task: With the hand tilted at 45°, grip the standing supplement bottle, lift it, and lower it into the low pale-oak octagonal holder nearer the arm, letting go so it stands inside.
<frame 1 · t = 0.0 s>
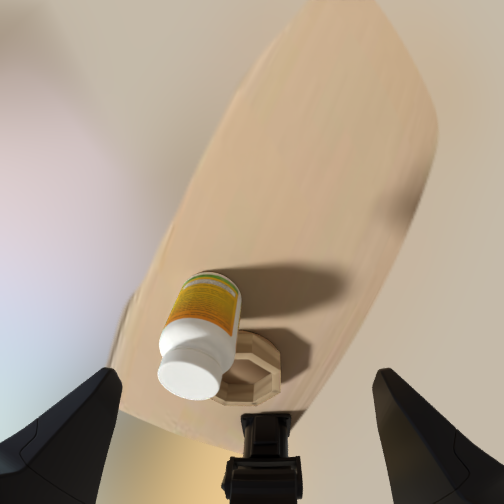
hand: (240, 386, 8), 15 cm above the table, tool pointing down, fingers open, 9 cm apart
can holder: (238, 360, 28), on the table
supplement bottle: (211, 295, 25), on the table
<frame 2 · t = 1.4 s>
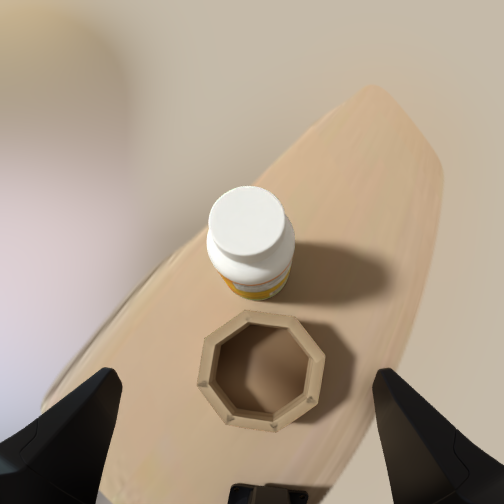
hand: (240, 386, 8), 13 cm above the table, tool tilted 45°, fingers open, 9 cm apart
can holder: (262, 369, 21), on the table
supplement bottle: (256, 270, 24), on the table
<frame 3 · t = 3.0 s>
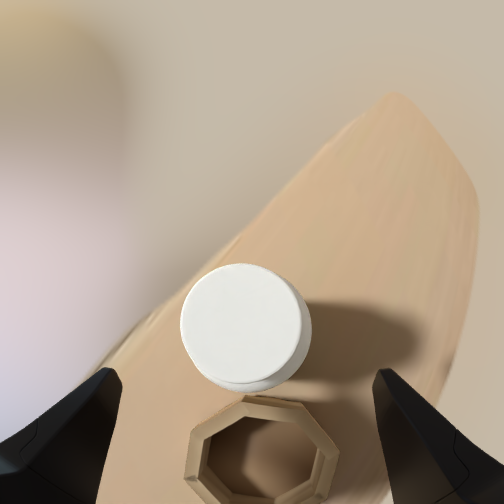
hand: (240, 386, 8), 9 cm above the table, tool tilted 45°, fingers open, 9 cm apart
can holder: (262, 454, 15), on the table
supplement bottle: (256, 337, 18), on the table
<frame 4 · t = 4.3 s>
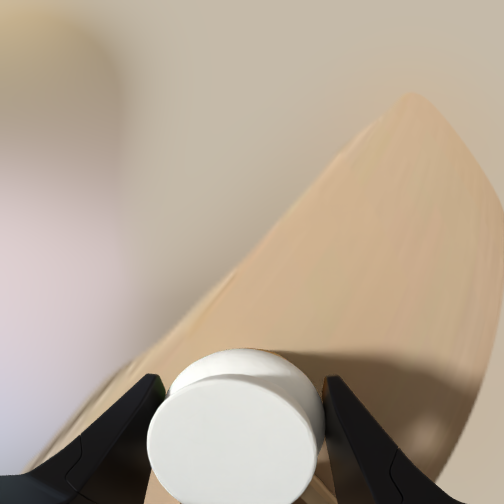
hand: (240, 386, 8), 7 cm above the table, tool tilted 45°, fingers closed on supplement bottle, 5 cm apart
supplement bottle: (255, 395, 14), on the table, touching gripper
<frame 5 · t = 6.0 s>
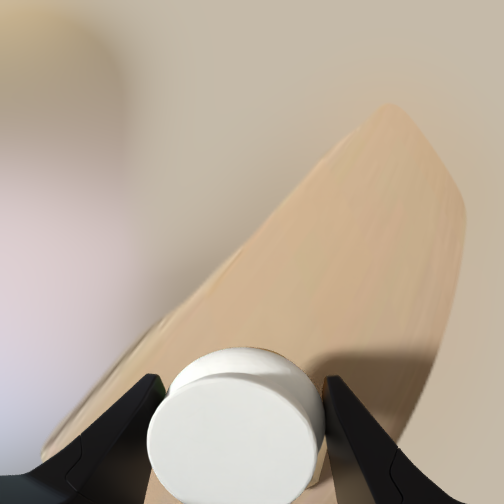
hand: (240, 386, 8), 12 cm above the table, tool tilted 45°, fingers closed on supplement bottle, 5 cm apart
can holder: (262, 442, 18), on the table
supplement bottle: (255, 394, 14), point 5 cm above the table, touching gripper
when the fingers open (8 cm above the table, at t = 7.7 s): supplement bottle stays where it is, resting on can holder.
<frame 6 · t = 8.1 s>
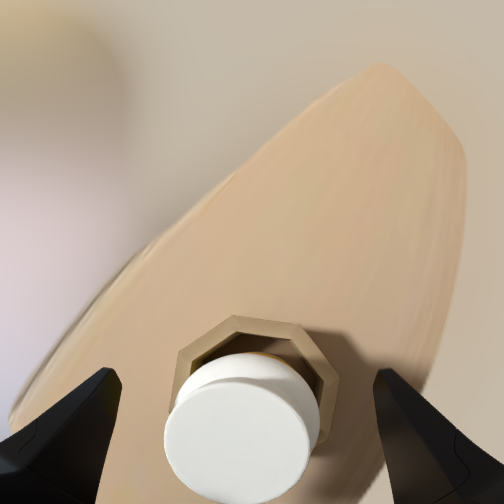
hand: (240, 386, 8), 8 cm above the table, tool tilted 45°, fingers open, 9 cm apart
can holder: (256, 391, 16), on the table
supplement bottle: (256, 395, 15), resting on can holder
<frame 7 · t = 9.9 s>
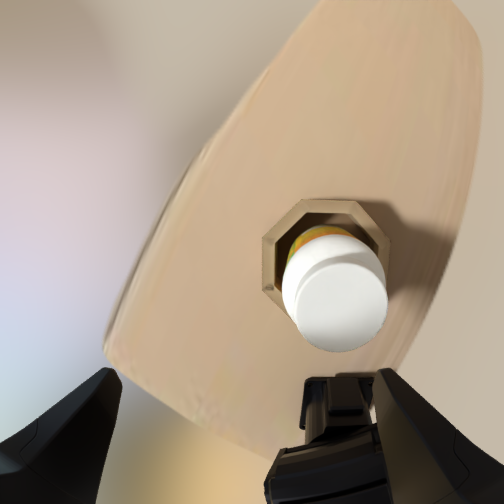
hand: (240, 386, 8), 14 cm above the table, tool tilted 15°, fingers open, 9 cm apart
can holder: (323, 256, 21), on the table
supplement bottle: (324, 260, 20), resting on can holder
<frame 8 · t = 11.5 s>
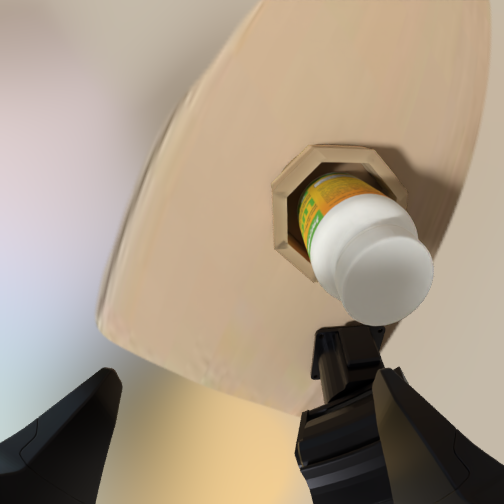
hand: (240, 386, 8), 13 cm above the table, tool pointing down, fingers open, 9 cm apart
can holder: (332, 205, 19), on the table
supplement bottle: (334, 209, 19), resting on can holder
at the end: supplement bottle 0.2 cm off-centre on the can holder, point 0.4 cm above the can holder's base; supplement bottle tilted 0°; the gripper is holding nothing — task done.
